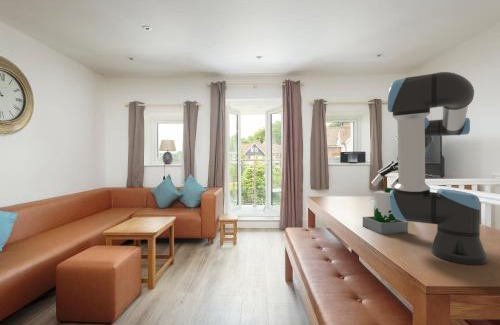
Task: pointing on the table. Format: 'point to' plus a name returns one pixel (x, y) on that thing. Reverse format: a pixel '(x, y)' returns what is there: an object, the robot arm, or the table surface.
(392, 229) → the tray
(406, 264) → the table surface
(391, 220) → the soya milk
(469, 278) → the table surface
